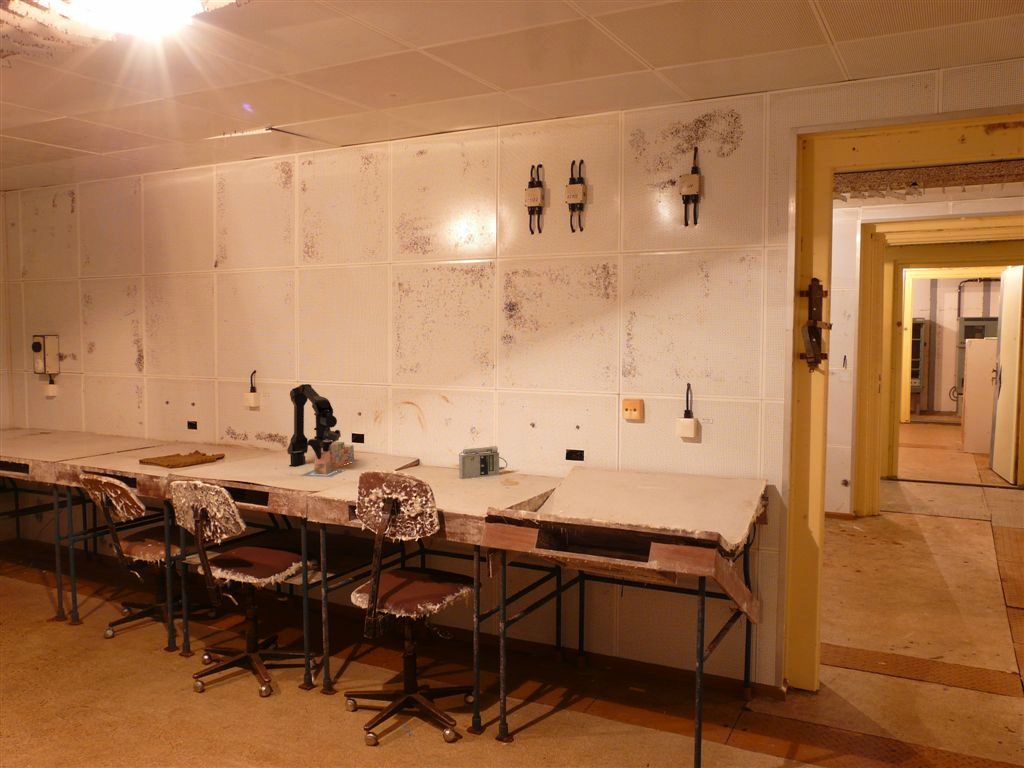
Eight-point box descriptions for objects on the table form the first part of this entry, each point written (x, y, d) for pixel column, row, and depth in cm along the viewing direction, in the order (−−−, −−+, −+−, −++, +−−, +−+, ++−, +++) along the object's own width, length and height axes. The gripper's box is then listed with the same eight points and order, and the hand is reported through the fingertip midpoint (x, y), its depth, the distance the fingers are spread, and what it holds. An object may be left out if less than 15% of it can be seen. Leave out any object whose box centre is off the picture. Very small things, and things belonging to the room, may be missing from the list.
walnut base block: (314, 473, 377) (314, 463, 376) (320, 471, 382) (320, 461, 382) (326, 474, 375) (325, 464, 375) (331, 472, 381) (331, 461, 381)
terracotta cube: (315, 463, 377) (315, 453, 376) (320, 461, 381) (320, 451, 381) (325, 463, 375) (324, 453, 375) (330, 461, 380) (329, 451, 380)
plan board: (299, 476, 373) (299, 475, 373) (315, 470, 388) (315, 469, 388) (331, 478, 369) (331, 476, 369) (345, 471, 385) (345, 470, 385)
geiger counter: (461, 449, 364) (510, 445, 375) (456, 447, 369) (504, 443, 381) (462, 479, 365) (510, 474, 376) (456, 477, 370) (504, 472, 382)
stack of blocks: (343, 462, 411) (343, 438, 410) (354, 462, 409) (353, 439, 408) (321, 469, 391) (320, 445, 390) (332, 470, 389) (331, 445, 388)
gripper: (328, 428, 366) (329, 461, 367) (346, 423, 384) (346, 454, 386) (306, 427, 369) (307, 461, 370) (324, 422, 387) (325, 454, 388)
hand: (322, 457), depth 378 cm, fingers open, 7 cm apart
